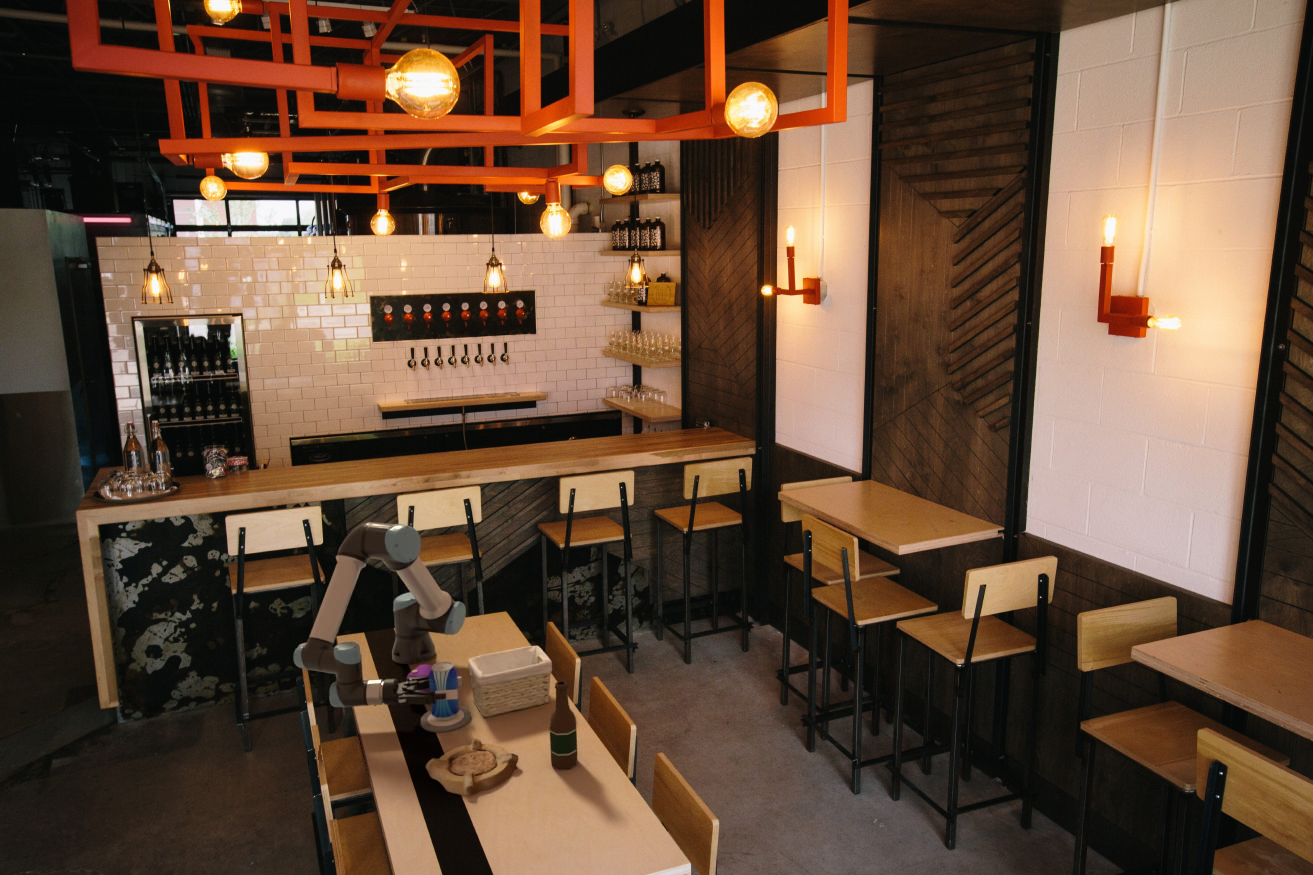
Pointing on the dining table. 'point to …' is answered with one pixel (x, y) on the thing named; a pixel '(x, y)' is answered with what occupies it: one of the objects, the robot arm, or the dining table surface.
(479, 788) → the ashtray
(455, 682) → the beer can
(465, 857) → the dining table surface
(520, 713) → the dining table surface
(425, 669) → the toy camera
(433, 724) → the coaster plate
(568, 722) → the beer bottle
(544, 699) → the storage basket
